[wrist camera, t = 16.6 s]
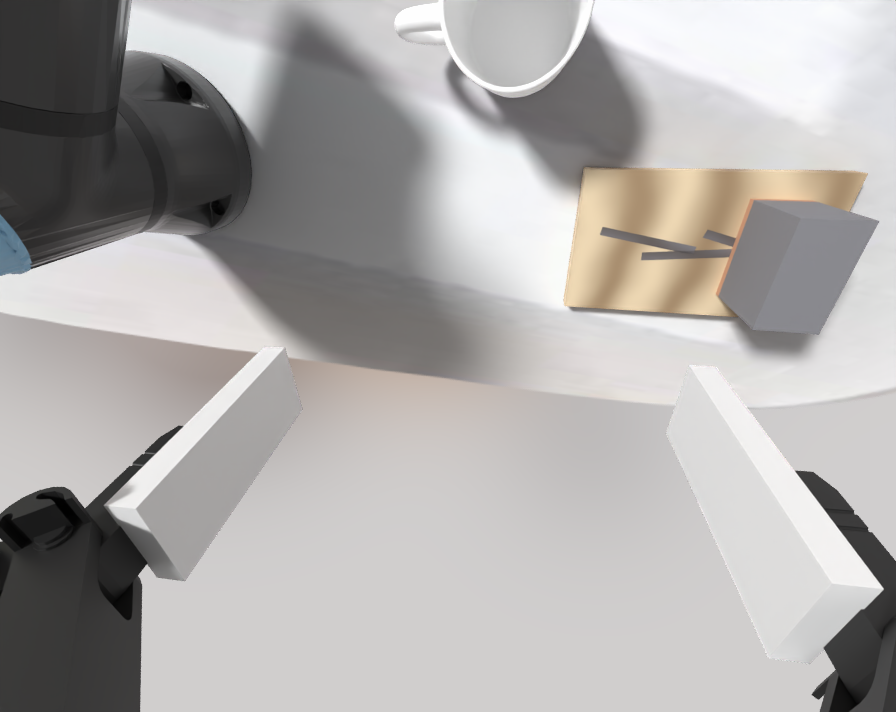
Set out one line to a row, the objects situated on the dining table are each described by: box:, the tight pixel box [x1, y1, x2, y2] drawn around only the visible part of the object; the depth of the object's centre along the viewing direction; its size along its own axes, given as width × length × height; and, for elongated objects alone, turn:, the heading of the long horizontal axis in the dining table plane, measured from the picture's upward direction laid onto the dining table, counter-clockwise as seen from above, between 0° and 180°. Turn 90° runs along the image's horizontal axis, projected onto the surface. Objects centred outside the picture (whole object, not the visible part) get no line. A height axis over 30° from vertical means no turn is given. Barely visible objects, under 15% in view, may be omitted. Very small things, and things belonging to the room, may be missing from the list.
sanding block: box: [716, 199, 879, 335], centre depth 31 cm, size 4×8×7 cm, turn 0°
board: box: [564, 167, 868, 317], centre depth 35 cm, size 20×12×2 cm, turn 91°
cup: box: [395, 0, 594, 98], centre depth 26 cm, size 8×12×10 cm
